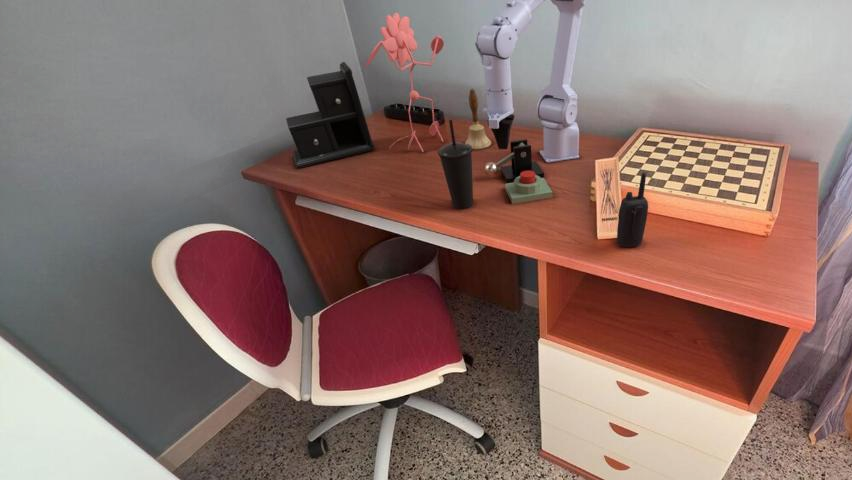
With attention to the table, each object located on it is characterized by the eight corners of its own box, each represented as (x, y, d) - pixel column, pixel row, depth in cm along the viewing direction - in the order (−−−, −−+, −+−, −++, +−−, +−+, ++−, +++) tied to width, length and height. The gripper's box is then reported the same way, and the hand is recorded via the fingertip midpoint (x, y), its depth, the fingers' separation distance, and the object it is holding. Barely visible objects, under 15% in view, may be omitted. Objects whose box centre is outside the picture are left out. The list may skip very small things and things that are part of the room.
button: (533, 177, 104) (533, 169, 103) (537, 183, 101) (536, 175, 100) (519, 179, 104) (518, 171, 102) (522, 186, 101) (522, 178, 100)
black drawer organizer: (296, 169, 125) (261, 83, 110) (293, 157, 132) (260, 75, 117) (375, 151, 132) (352, 68, 117) (368, 140, 139) (346, 61, 124)
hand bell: (496, 141, 132) (491, 86, 121) (481, 151, 126) (474, 95, 116) (475, 137, 135) (468, 84, 125) (459, 147, 130) (451, 92, 120)
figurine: (462, 133, 139) (445, 6, 116) (405, 163, 123) (373, 23, 101) (428, 126, 146) (406, 5, 123) (370, 153, 130) (333, 20, 108)
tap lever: (490, 181, 110) (482, 170, 108) (487, 175, 113) (480, 164, 111) (530, 155, 108) (523, 144, 106) (526, 150, 111) (520, 139, 109)
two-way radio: (639, 237, 87) (650, 168, 77) (647, 249, 84) (659, 178, 74) (613, 240, 87) (620, 171, 77) (620, 253, 83) (629, 182, 74)
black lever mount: (506, 183, 109) (504, 152, 104) (500, 170, 115) (498, 140, 110) (544, 177, 110) (543, 146, 105) (536, 165, 117) (535, 135, 111)
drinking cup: (466, 215, 98) (453, 128, 85) (441, 208, 101) (424, 123, 89) (485, 201, 103) (475, 116, 90) (460, 194, 106) (447, 112, 93)
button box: (543, 183, 108) (543, 170, 106) (552, 197, 102) (552, 184, 100) (505, 189, 107) (504, 176, 105) (512, 204, 101) (511, 190, 99)
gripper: (489, 79, 100) (494, 136, 109) (472, 98, 89) (479, 160, 98) (518, 79, 99) (521, 136, 107) (505, 98, 88) (509, 160, 97)
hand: (503, 148), depth 103 cm, fingers closed
